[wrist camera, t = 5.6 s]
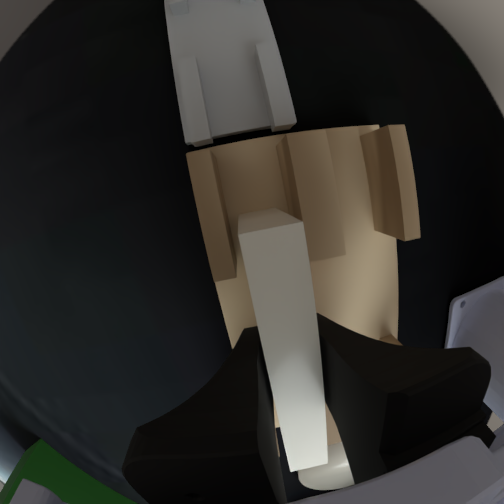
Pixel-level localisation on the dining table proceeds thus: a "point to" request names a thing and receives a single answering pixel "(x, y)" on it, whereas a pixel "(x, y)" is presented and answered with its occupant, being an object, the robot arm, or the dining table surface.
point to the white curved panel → (287, 329)
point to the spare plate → (329, 471)
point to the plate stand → (226, 69)
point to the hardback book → (58, 478)
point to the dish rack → (315, 220)
